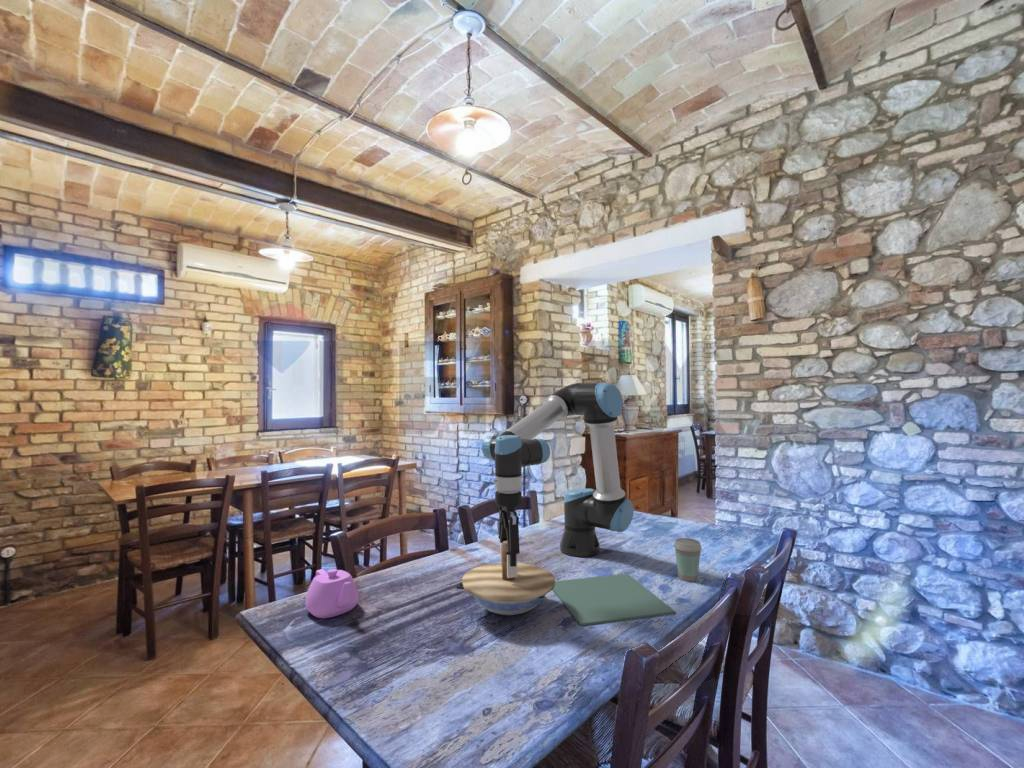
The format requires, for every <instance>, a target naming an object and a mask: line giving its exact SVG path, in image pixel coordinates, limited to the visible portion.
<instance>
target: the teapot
mask: <svg viewBox="0 0 1024 768" xmlns="http://www.w3.org/2000/svg"><path fill="white" fill-rule="evenodd" d="M359 600H360V599H359V591H358V588H357V584H356V582H355V580H354V578H353V577H352V575H351V573H349V572H348V571H345V570H343V569H336V568H331V569H328V570H325V569H323V568H321V569H317V570H316V571H315V576H314V577H313V579H312V580H311V582H310V585H309V586H308V589H307V593H306V596H305V608H306V609H307V611H308V612H309V613H310V614H311V615H312V616H314V617H315V618H316V619H317V618H318V619H329V618H333V617H337V616H338V617H339V616H341V615H343V614H346V613H348V612H350V611H352V610H353V609H354V608H355V607H356V605H358V603H359Z"/></svg>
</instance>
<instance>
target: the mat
mask: <svg viewBox="0 0 1024 768" xmlns="http://www.w3.org/2000/svg"><path fill="white" fill-rule="evenodd" d="M552 591H553V593H554V594H555V595H556V597H557V598H558V600H559V601H560V603H561V604H562V605H563V606H564V607H565V608H566V610H567V611H568V613H569V614H571V616H572V617H573V619H575V621H576V622H577V623H578V624H579V627H580V626H581V627H582V626H590V625H598V624H599V625H600V624H605V623H612V622H613V623H614V621H615V622H621V621H629V620H636V619H643V618H644V619H645V618H652V617H659V616H666V615H673V614H674V615H675V614H676V610H674V608H672V607H671V606H670V605H669V604H667V603H666V602H664V601H663V600H661V599H660V598H659V597H658V596H657V595H655V594H654V593H653V592H652V591H650V590H649V589H648V588H646V587H645V586H644V585H643V584H641V583H640V582H639V581H638V580H637V579H635V578H634V577H633V576H631V575H630V574H629V573H620V574H618V573H617V574H610V575H602V576H591V577H582V578H575V579H574V578H572V579H565V580H555V586H554V588H553V589H552V590H551V592H552Z"/></svg>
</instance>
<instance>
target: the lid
mask: <svg viewBox="0 0 1024 768" xmlns="http://www.w3.org/2000/svg"><path fill="white" fill-rule="evenodd" d="M501 544H502V567H501V566H500V562H495V563H488V564H483V565H479V566H477V567H474V568H472V569H469V570H468V571H467V572H465V573H464V574H463V576H462V578H461V583H462V585H463V588H464V589H463V590H465V592H467V593H469V594H471V595H472V596H473V595H475V596H477V597H480V598H484V599H489V600H496V601H522V600H529V599H534V598H537V597H540V596H543V595H545V594H546V595H547V594H549V593H550V592H552V589H553V588H554V586H555V581H556V578H555V576H554V575H553V574H552V573H551V572H550V571H549V570H547V569H545V568H543V567H541V566H537V565H533V564H529V563H527V564H526V563H522V562H517V577H513V578H507V555H506V552H508V544H507V541H503V542H502V543H501ZM513 550H514V549H513ZM546 595H545V596H546Z"/></svg>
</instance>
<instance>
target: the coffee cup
mask: <svg viewBox="0 0 1024 768" xmlns="http://www.w3.org/2000/svg"><path fill="white" fill-rule="evenodd" d="M673 547H674V550H675V551H674V552H675V558H676V559H675V560H676V566H677V567H676V569H677V576H678V579H680V580H681V581H683V582H684V581H685V582H692V583H693V582H696V581H698V577H699V575H698V574H699V568H700V567H699V566H700V561H701V560H700V559H701V551H702V545H701V542H700V541H699V540H697V539H694V538H691V537H690V538H689V537H679V538H676V539H675V541H674V543H673Z"/></svg>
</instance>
